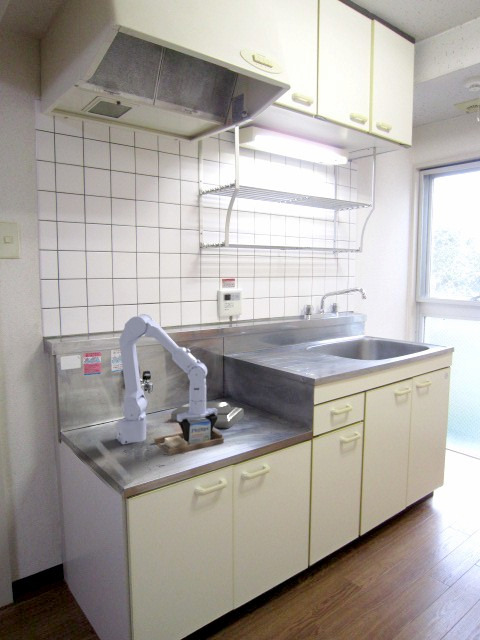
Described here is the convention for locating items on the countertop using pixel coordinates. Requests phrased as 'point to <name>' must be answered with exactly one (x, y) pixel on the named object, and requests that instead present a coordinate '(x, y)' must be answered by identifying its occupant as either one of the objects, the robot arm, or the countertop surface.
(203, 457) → the countertop surface
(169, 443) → the offcut top
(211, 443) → the rack
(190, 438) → the medicine box
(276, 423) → the countertop surface
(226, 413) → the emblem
